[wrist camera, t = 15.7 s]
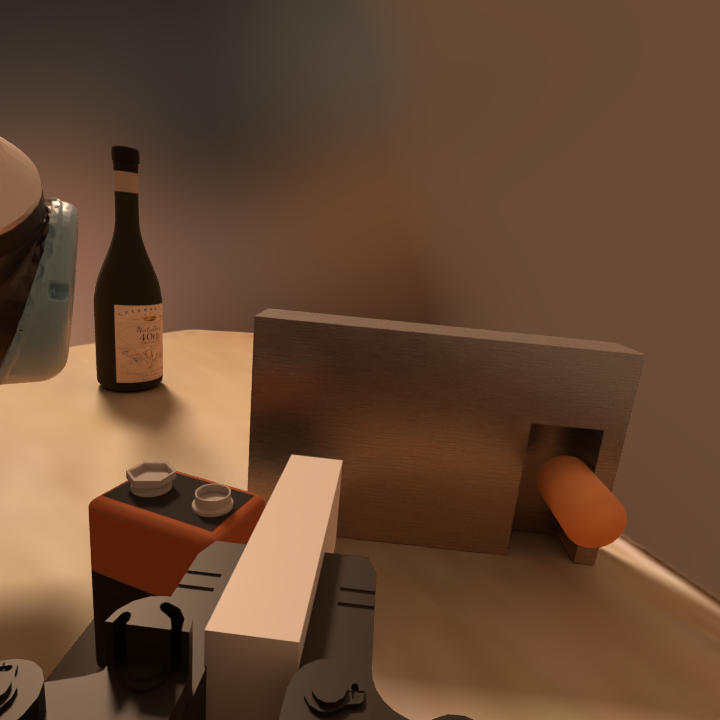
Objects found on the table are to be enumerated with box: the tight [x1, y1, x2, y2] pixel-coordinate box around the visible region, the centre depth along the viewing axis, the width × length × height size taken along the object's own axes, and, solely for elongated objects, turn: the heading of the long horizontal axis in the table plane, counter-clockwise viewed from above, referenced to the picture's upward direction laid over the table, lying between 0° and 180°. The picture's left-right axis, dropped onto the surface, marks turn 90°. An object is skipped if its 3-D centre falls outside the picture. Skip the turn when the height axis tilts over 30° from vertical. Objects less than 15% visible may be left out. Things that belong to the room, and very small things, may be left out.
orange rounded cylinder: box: [537, 456, 627, 548], centre depth 30 cm, size 4×5×4 cm
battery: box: [89, 462, 265, 669], centre depth 23 cm, size 4×7×10 cm, turn 70°
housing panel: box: [248, 309, 645, 565], centre depth 35 cm, size 26×4×16 cm, turn 87°
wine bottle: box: [94, 145, 163, 392], centre depth 61 cm, size 8×8×30 cm
